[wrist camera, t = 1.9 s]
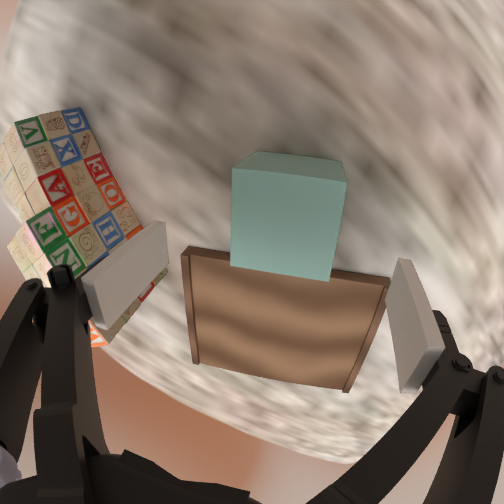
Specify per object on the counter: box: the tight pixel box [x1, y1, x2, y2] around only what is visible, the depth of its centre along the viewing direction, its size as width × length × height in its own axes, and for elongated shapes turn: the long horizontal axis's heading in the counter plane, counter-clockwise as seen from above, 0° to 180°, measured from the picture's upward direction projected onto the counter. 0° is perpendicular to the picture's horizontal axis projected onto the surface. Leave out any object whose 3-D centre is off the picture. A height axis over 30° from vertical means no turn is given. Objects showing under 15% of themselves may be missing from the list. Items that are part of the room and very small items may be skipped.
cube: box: [230, 151, 347, 282], centre depth 22 cm, size 7×7×7 cm
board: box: [181, 246, 391, 393], centre depth 31 cm, size 16×20×2 cm
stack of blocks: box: [0, 108, 168, 347], centre depth 25 cm, size 21×6×12 cm, turn 26°
